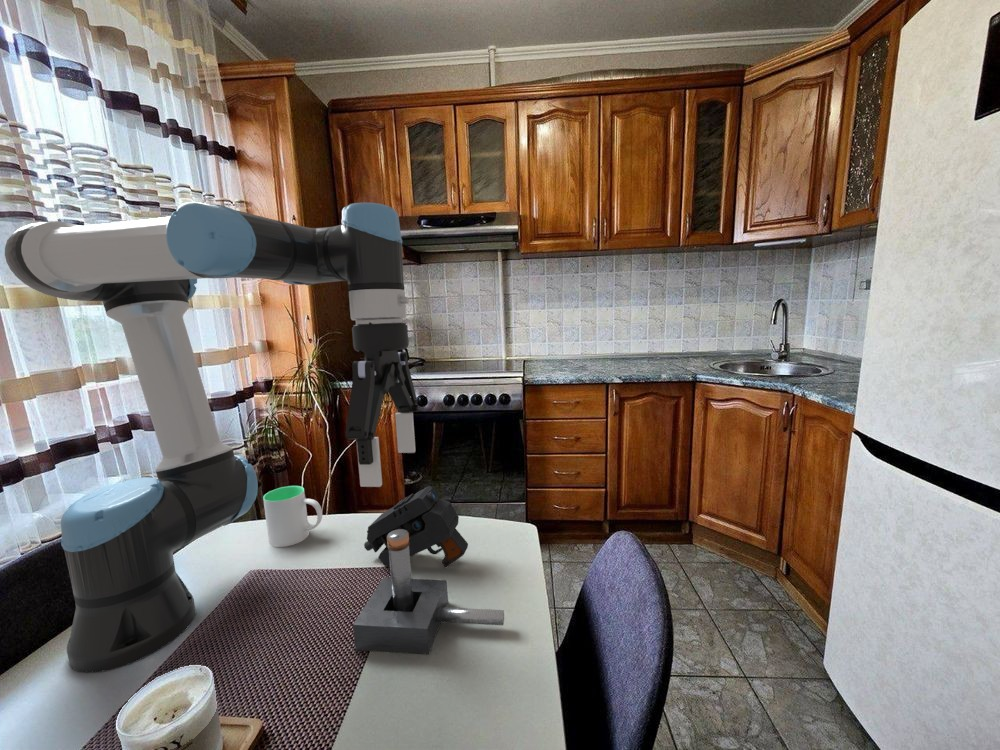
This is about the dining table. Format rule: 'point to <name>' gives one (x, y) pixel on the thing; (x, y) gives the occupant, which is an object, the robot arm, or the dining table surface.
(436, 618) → the grey holed block
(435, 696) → the dining table surface
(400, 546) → the grey metal rod
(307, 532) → the mug
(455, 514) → the toy gun
